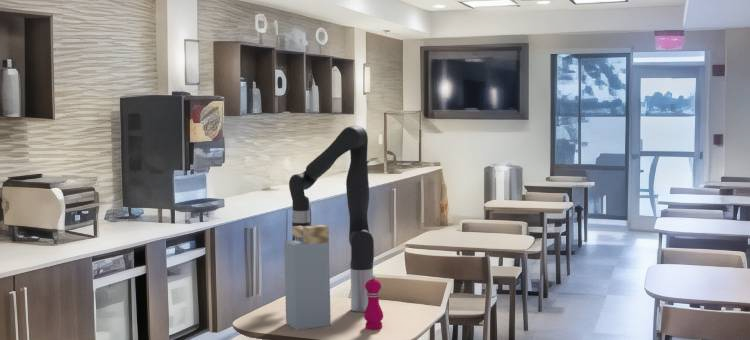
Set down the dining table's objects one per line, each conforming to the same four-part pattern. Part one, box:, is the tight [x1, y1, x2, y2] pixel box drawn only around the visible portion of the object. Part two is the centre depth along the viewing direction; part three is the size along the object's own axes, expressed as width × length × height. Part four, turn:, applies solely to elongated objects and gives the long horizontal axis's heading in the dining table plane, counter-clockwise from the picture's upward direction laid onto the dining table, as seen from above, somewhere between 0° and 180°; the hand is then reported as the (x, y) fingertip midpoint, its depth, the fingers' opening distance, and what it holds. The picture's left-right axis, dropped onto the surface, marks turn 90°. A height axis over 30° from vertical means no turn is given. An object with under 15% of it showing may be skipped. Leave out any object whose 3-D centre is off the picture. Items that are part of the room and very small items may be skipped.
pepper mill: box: [363, 274, 384, 331], centre depth 307 cm, size 7×7×20 cm
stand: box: [283, 237, 332, 331], centre depth 313 cm, size 14×11×33 cm
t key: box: [291, 224, 330, 244], centre depth 319 cm, size 8×24×6 cm, turn 26°
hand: (301, 259), depth 345 cm, fingers open, 8 cm apart
